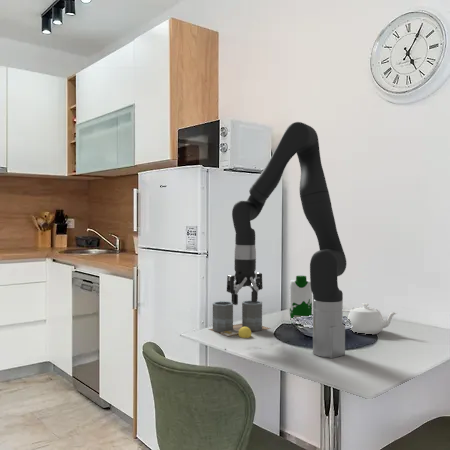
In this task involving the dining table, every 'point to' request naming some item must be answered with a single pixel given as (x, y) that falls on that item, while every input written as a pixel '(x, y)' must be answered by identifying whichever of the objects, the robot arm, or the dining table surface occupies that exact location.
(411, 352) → the dining table surface
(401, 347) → the dining table surface
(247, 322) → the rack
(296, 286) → the milk carton
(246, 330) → the mustard ball
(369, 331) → the teapot
